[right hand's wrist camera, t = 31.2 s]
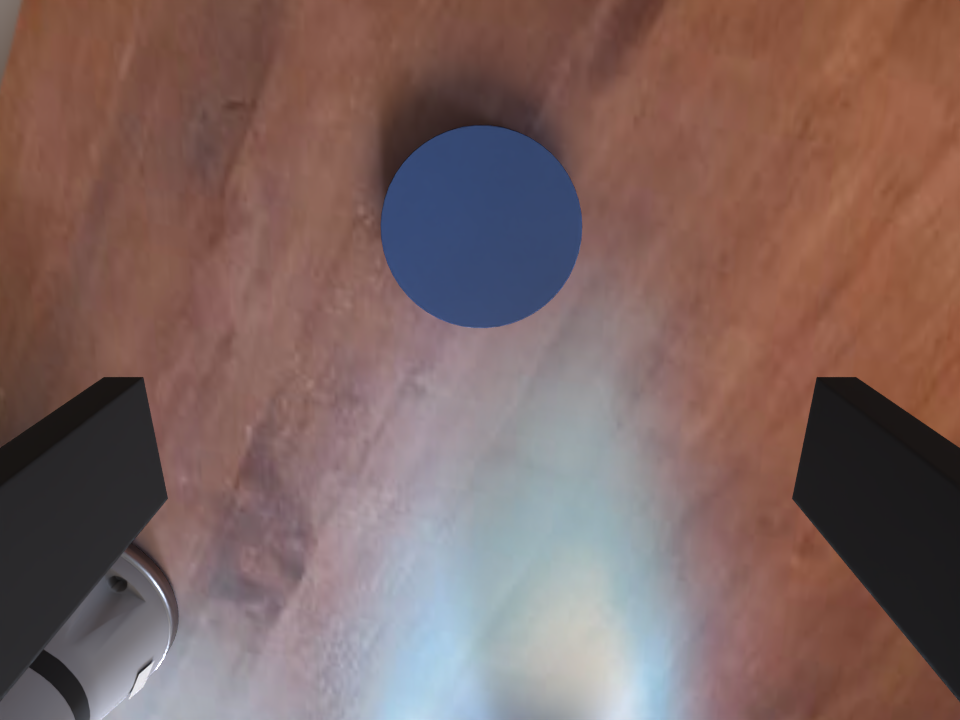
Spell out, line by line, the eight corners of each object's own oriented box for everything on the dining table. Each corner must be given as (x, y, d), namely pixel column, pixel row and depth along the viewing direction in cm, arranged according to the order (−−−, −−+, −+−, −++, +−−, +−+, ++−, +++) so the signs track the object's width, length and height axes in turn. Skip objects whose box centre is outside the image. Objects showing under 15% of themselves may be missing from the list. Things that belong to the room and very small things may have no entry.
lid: (492, 79, 35) (492, 77, 33) (614, 235, 38) (622, 242, 36) (346, 215, 38) (338, 221, 36) (472, 351, 41) (471, 364, 39)
